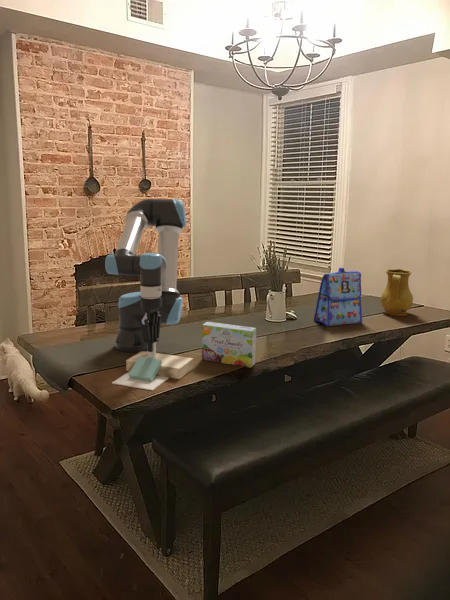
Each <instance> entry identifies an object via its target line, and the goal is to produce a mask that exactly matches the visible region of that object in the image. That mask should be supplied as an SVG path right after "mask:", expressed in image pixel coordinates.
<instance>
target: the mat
mask: <svg viewBox="0 0 450 600" xmlns="http://www.w3.org/2000/svg"><path fill="white" fill-rule="evenodd" d="M129 373H130V371H127V372H126V373H124V374H123V375H122V376H120V377H118V378H116V380H114V381H112V382H111V384H112V385H118V386H124V387H130V388H135V389H142V390H147V391H154V390H156V389H157V388H159V386H161V385H162V384H164V383H165V382H166V381H168V380H169V377H163V376H157V375H155V377H154V379H153V381H152V382H151V381H145V380H139V379H133V378H129V375H128V374H129Z"/></svg>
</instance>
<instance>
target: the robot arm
mask: <svg viewBox="0 0 450 600" xmlns="http://www.w3.org/2000/svg"><path fill="white" fill-rule="evenodd" d="M124 222H125V225H124V227H123V230H122V233H121V236H120V239H119V241H118V244H117V248H116V250H115V252H114V253H112V254H107V255H106V257H105V261H104V268H105V272H106V273H107V274H108V275H116V276H124V275H126V276H139V277H140V278H139V279H140V281H139V284H140V285H139V286H140V290H139V291H134V292H129V293H125V294H122V295H121V296H120V297H119V298H118V306H117V307H118V331H117V336H116V339H115V349H116V350H118V351H120V352H124V353H125V352H127V353H128V352H129V353H130V352H131V353H134V352H135V353H139V352H141V351H146V350H147V352H148V358H152V359H156V353H157V343H159V342H160V340H159V339H160V332H161V325H168V326H169V325H176V324H178V323H179V322H180V320H181V317H182V312H183V307H184V305H183V304H184V297H182V296H180V295H181V294H180V292H179V290H178V289H177V278H178V259H179V258H178V257H179V256H178V254H179V235H180V234H181V233H183V228H185V227H187V215H186V207H185V203H184V201H183V200H181V199H174V198H169V199H168V198H145V199H142V200H141V201H140V200H139V201H138V202H137V203H135V204H134V205H132V206H131V207H130V209H128V211H127V213H126V215H125V219H124ZM148 227H154V229H155V231H156V232H157V233H158V241H157V243H158V244H157V252H146V253H141V254H137V251H138V247H139V245H140V241H141V239H142V236H143V231H144V230H146V228H148Z"/></svg>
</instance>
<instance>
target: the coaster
mask: <svg viewBox="0 0 450 600" xmlns="http://www.w3.org/2000/svg"><path fill="white" fill-rule="evenodd" d="M161 365H162V361H161V360H158V359H152V358H145V357H139V358H138V359H137V361H136V363H135V364H134V366H133V368H132V369H131V371H130V373H129V374H128V375H129V378H133V379H139V380H145V381H151V382H152V381H153V379H154V377H155V375H156V374H157V372H158V370H159V368H160V366H161ZM156 376H157V375H156Z"/></svg>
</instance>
